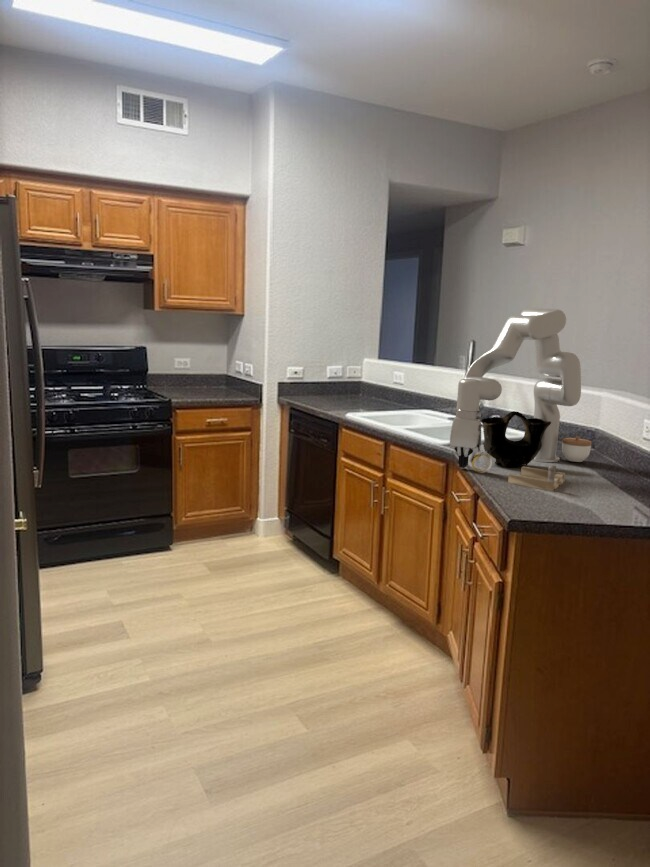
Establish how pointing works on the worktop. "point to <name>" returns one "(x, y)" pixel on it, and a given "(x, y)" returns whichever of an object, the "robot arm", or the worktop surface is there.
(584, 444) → the lidded jar
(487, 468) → the ring
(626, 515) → the worktop surface
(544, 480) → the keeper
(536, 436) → the pottery vessel
